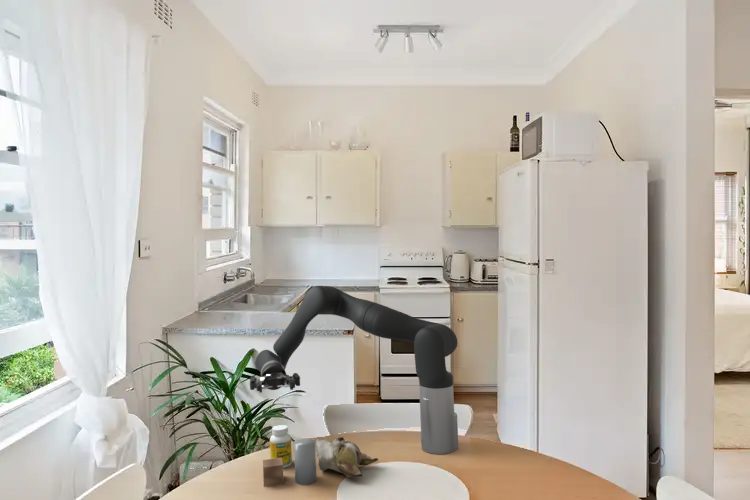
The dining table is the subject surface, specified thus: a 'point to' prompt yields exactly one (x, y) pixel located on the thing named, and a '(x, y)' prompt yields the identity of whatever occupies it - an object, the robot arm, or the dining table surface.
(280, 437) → the supplement bottle
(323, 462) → the ceramic sculpture
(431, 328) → the robot arm
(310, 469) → the light grey cylinder
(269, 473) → the walnut block
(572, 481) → the dining table surface
